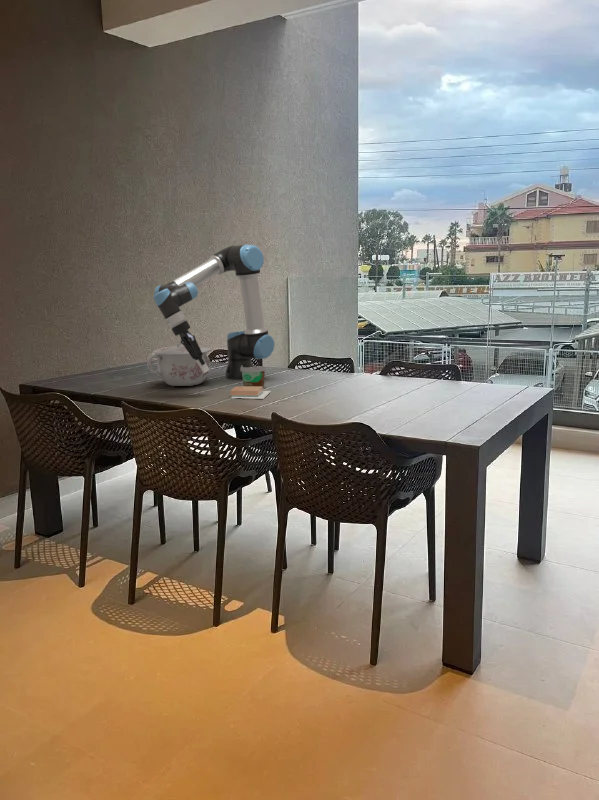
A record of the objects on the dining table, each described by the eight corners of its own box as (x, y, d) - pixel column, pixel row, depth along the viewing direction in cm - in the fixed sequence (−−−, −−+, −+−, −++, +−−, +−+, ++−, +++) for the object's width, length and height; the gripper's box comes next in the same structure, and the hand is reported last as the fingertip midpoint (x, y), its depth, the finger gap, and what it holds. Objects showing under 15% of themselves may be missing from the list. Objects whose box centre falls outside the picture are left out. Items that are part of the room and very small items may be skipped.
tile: (236, 386, 283) (262, 386, 280) (236, 391, 283) (263, 392, 281) (230, 390, 273) (257, 390, 271) (230, 396, 273) (257, 396, 271)
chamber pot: (219, 379, 320) (217, 337, 315) (206, 389, 293) (203, 344, 289) (164, 379, 322) (161, 338, 318) (146, 390, 296) (143, 345, 291)
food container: (236, 389, 293) (235, 367, 291) (242, 386, 299) (241, 365, 297) (261, 390, 289) (260, 368, 287) (266, 387, 295) (265, 366, 293)
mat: (240, 391, 286) (240, 390, 286) (271, 392, 284) (271, 390, 283) (230, 399, 270) (230, 398, 270) (263, 399, 268) (263, 398, 268)
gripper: (166, 330, 278) (194, 376, 283) (175, 325, 267) (204, 374, 272) (181, 321, 281) (208, 368, 286) (190, 317, 270) (218, 365, 275)
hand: (206, 371), depth 279 cm, fingers closed
